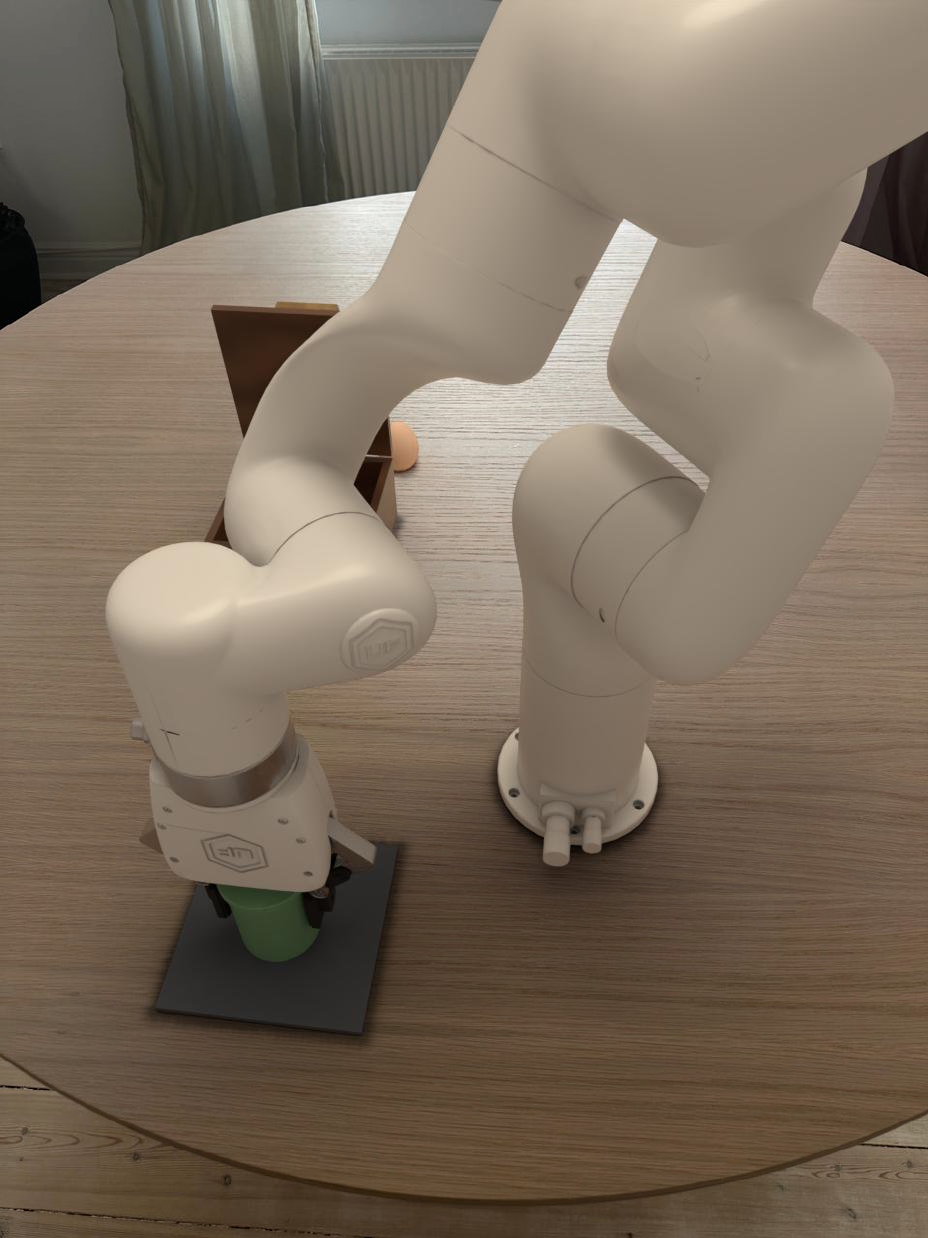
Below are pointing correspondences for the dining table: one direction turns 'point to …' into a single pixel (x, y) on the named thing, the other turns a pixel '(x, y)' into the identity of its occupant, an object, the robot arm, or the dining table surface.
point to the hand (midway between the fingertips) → (275, 902)
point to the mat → (285, 962)
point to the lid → (271, 352)
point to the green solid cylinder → (270, 921)
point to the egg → (403, 446)
